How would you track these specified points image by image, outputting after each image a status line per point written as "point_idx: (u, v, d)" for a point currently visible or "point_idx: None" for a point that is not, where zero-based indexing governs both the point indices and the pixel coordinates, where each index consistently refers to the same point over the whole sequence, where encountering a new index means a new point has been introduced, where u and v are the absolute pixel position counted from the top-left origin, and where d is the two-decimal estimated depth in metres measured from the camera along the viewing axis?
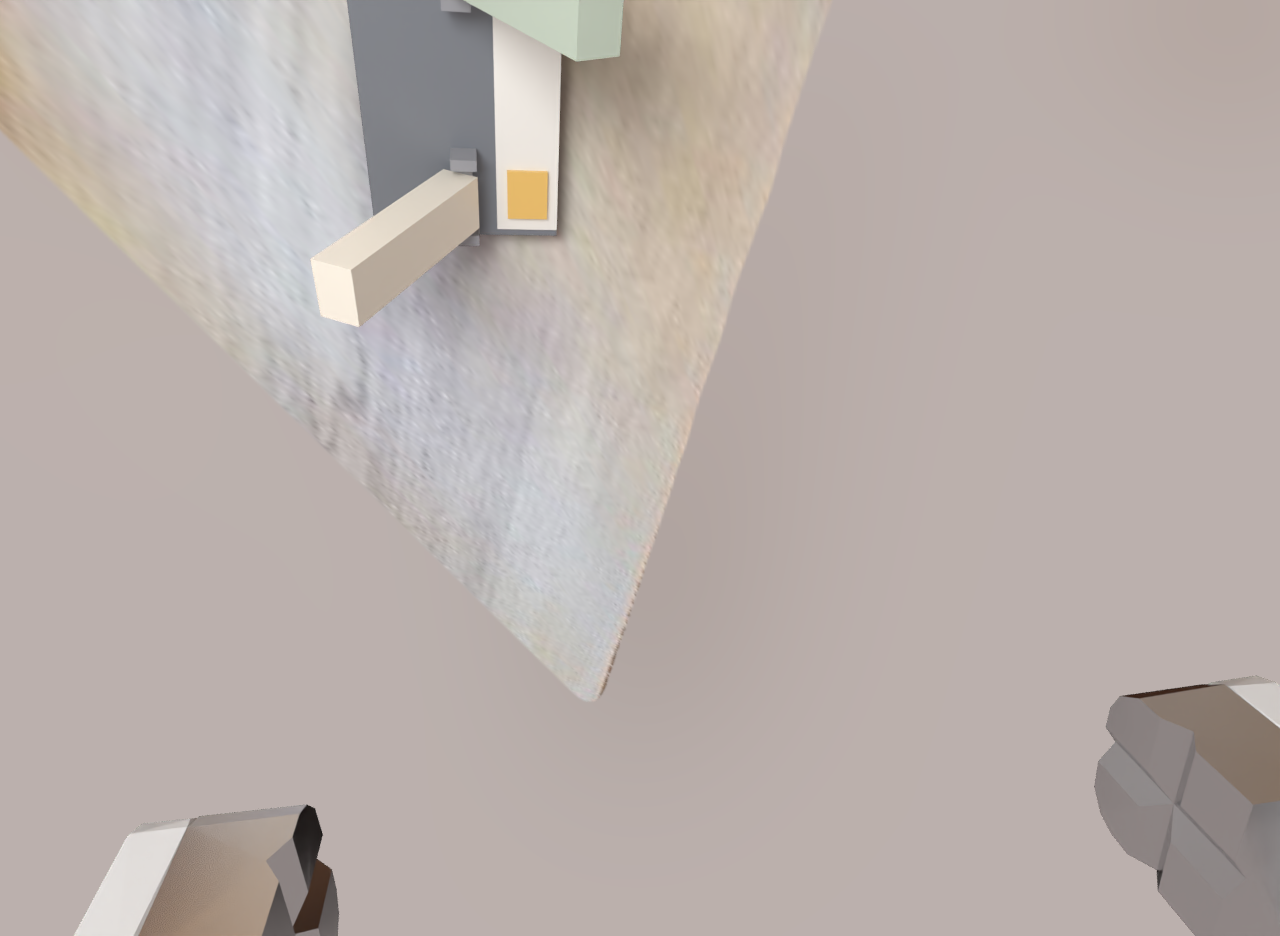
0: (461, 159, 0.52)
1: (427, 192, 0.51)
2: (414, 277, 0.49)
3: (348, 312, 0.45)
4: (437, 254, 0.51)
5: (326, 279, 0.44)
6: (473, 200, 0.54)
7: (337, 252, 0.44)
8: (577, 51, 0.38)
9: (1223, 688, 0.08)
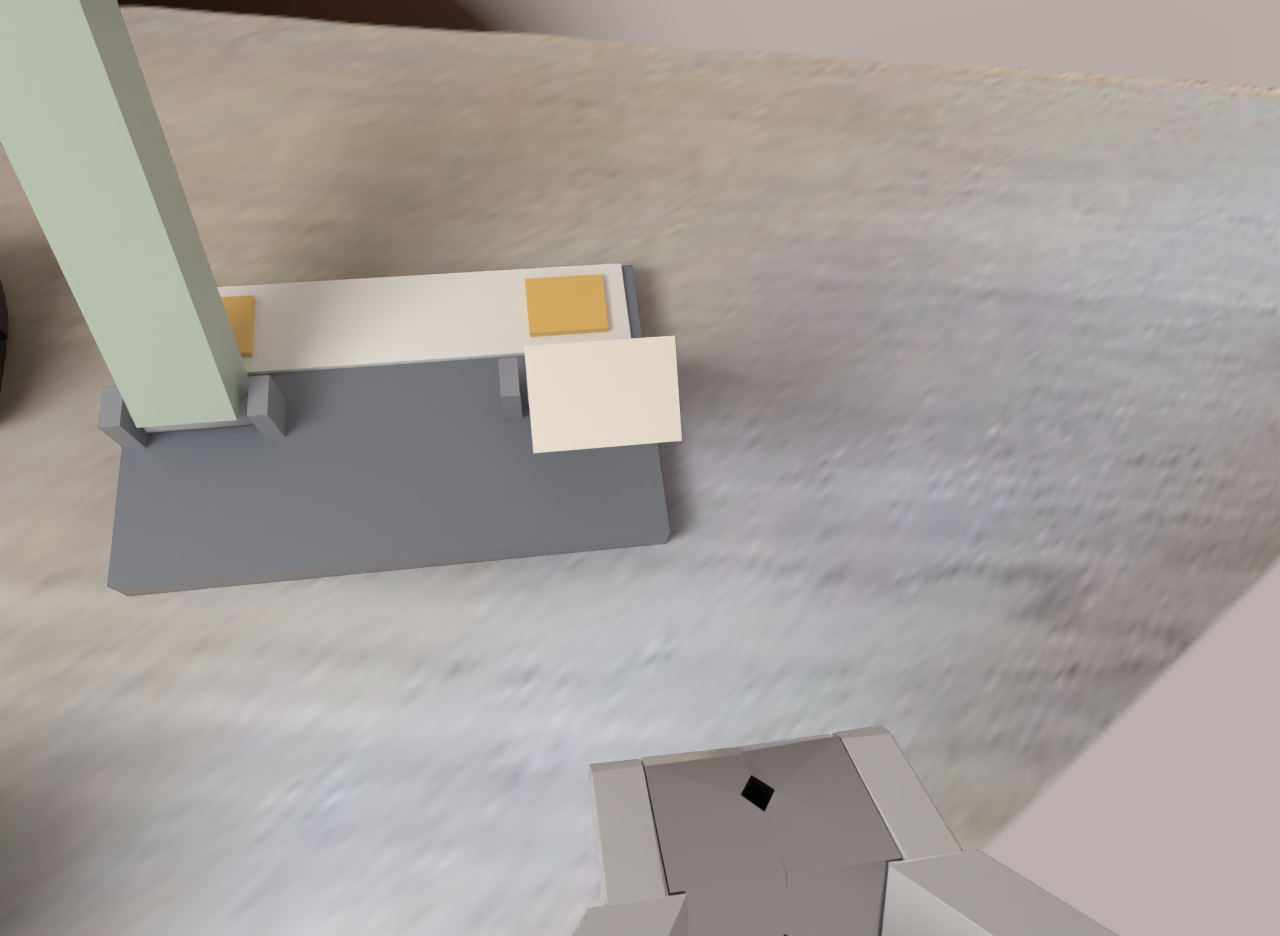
0: (500, 382, 0.32)
1: None
2: None
3: (644, 362, 0.19)
4: None
5: (573, 415, 0.19)
6: None
7: None
8: None
9: (834, 739, 0.08)
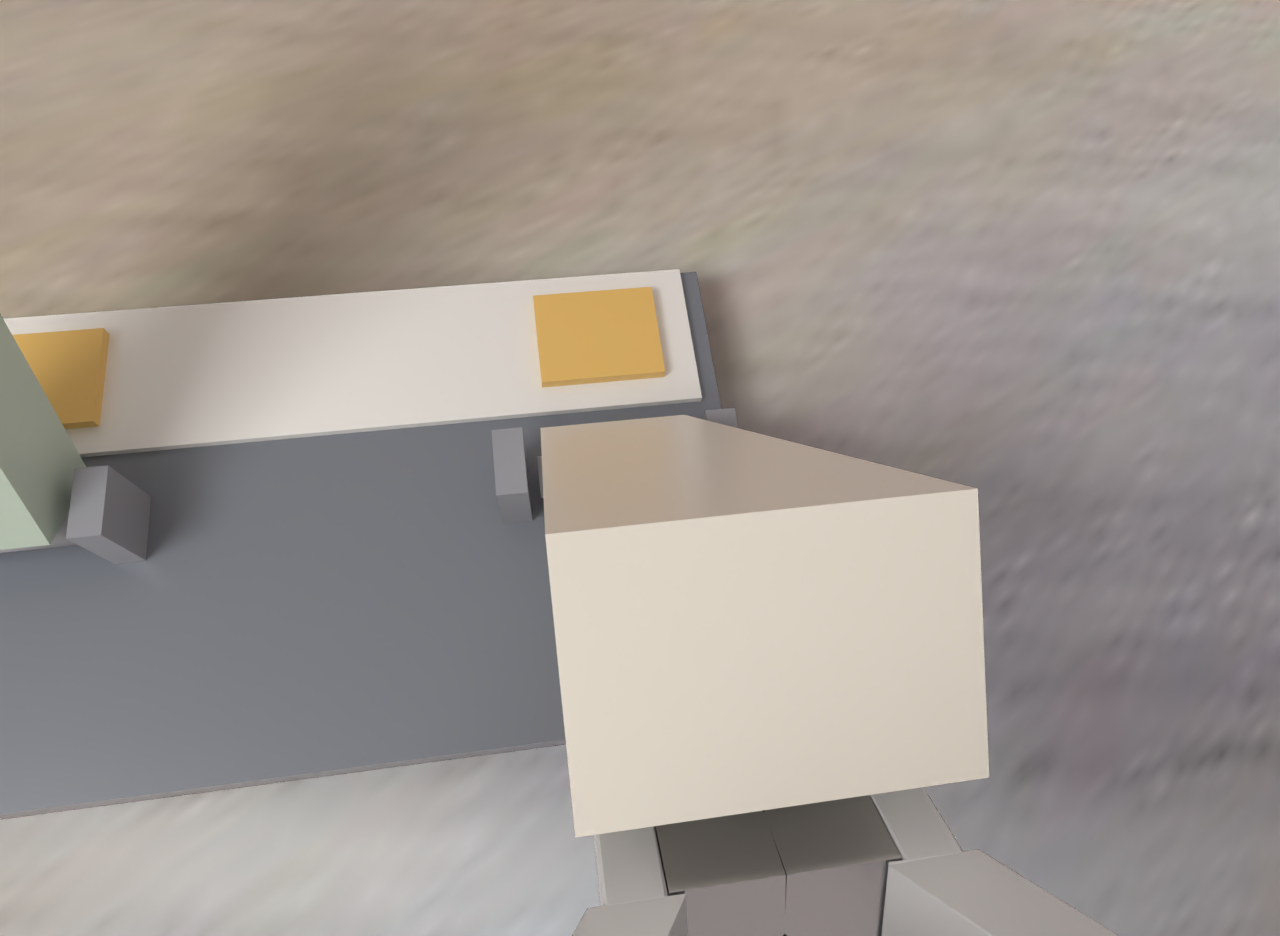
0: (495, 469, 0.19)
1: None
2: (761, 439, 0.12)
3: (890, 567, 0.07)
4: (707, 430, 0.15)
5: (691, 724, 0.07)
6: (596, 424, 0.19)
7: None
8: None
9: None
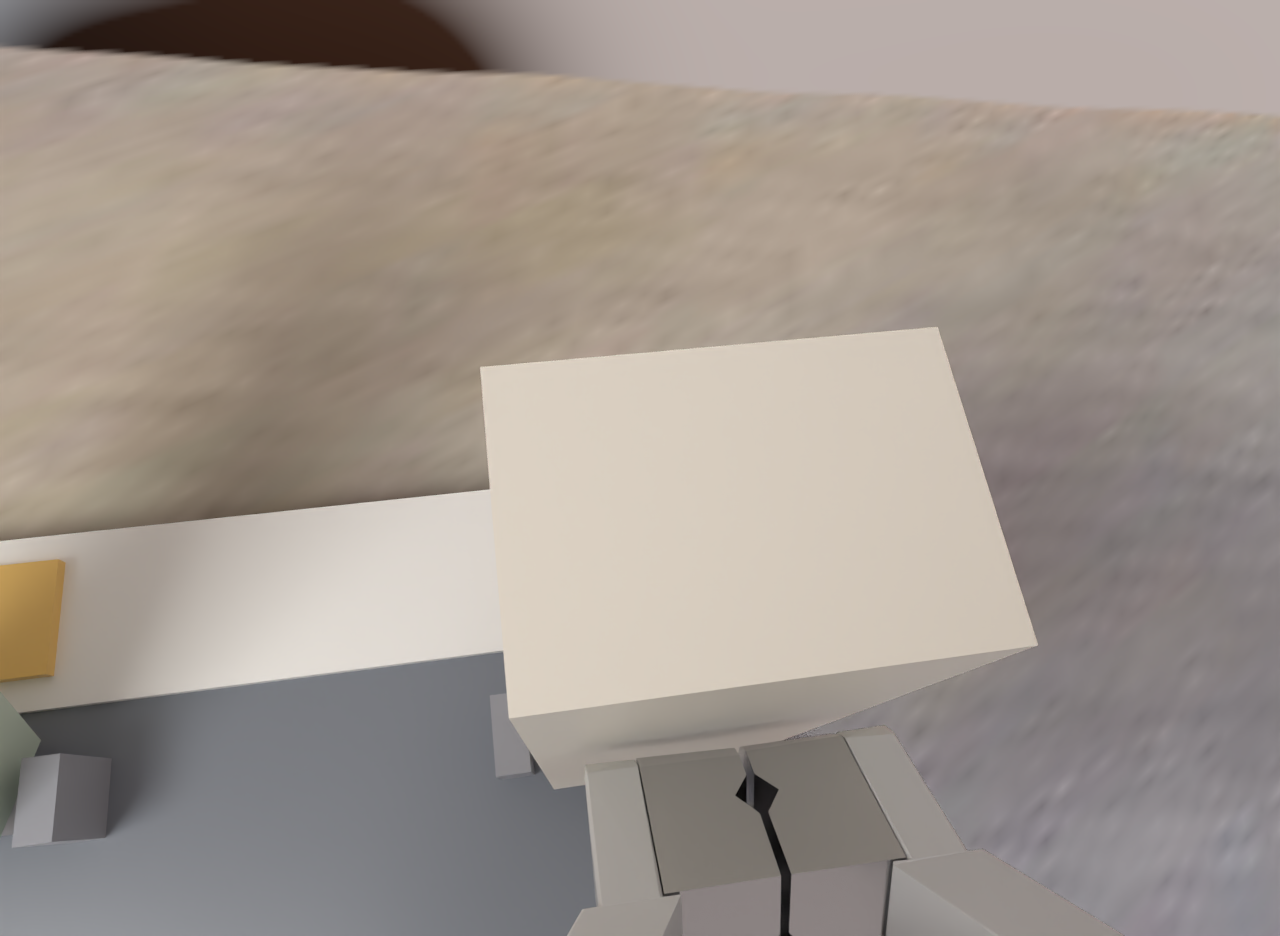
0: None
1: None
2: None
3: (860, 401, 0.06)
4: None
5: (651, 571, 0.05)
6: None
7: None
8: None
9: (837, 739, 0.08)
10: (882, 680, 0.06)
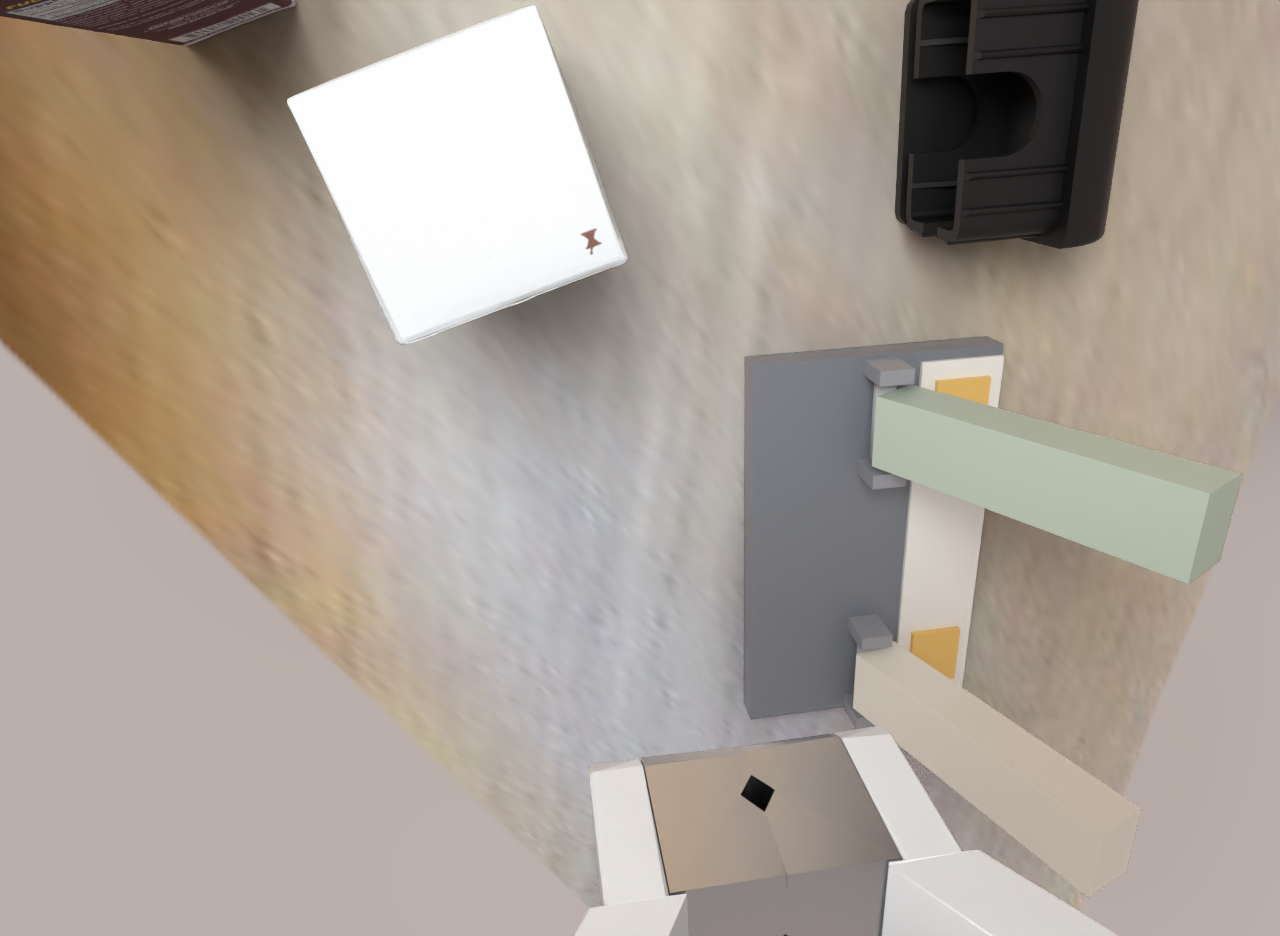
0: (874, 635, 0.43)
1: (922, 685, 0.41)
2: None
3: (1121, 864, 0.34)
4: None
5: (1111, 844, 0.33)
6: None
7: (1086, 805, 0.34)
8: (1191, 572, 0.29)
9: (834, 740, 0.08)
10: (1071, 868, 0.34)
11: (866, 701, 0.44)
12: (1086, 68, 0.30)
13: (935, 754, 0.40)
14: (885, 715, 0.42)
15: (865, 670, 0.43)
